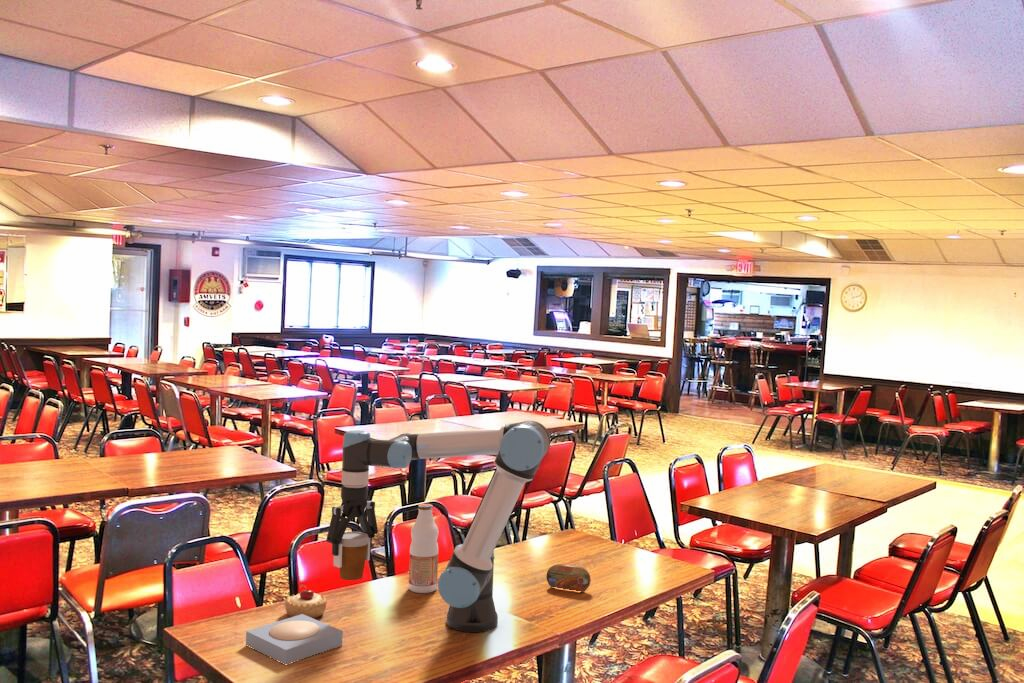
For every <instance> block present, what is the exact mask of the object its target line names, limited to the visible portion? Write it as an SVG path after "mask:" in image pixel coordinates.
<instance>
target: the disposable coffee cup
mask: <svg viewBox="0 0 1024 683" xmlns="http://www.w3.org/2000/svg"><path fill="white" fill-rule="evenodd" d="M369 541H370V539H369V538H368V534H366V533H364V532H362V531H345V533H344V535H343V537H342V540H341V542H340V544H342V567H341V568H339V577H340V579H341V580H344V581H357V580H360V579H362V578H363V574H364V569H365V562H366V560H365V558H366V552H367V546H368V543H369Z"/></svg>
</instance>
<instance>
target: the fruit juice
mask: <svg viewBox="0 0 1024 683" xmlns="http://www.w3.org/2000/svg"><path fill="white" fill-rule="evenodd" d="M433 509H434V506H433V504H431V503H419V504H418V505H417V510H418V514H417V517H416V520H415V522H414V523H413V525H412V527H411V530H410V536H411V543H410V546H409V566H408V567H409V568H408V573H409V574H408V589H409V591H410V592H412V593H416V594H429V593H430V594H431V593H433V592H435V591H436V590H437V589H438V570H439V543H438V537H439V528H438V525H437V523H436V522H435V519H434V515H433Z"/></svg>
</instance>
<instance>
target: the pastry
mask: <svg viewBox="0 0 1024 683" xmlns="http://www.w3.org/2000/svg"><path fill="white" fill-rule="evenodd" d="M302 586H303V587H304V588H305V589H306V590H304V589H303V590H301V591H300V593H299V592H298V593H297V594H296V595H295V594H292V595H289V596H288V597H286V599H285V601H284V606H285V608H284V609H285V611H286V613H287V616H289V617H288V618H291V617H294V616H297V615H301V614H304V615H306V616H308V617H311V618H313V619H318V618H320V617H321V616H322V615H323V614H324V612H325V611H326V609H327V598H326V597H325V596H324V595H323V594H321V593H316V592H314V591H313V590H311V589H308V587H307V586H306V585H304V584H301V585H300V587H299V589H301V588H302Z"/></svg>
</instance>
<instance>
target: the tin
mask: <svg viewBox="0 0 1024 683" xmlns="http://www.w3.org/2000/svg"><path fill="white" fill-rule="evenodd" d="M546 582H547V583H548V585H549V587H550V588H552V587H557V588H563V589H569V590H576V591H581V592H582V593H584V592H586V590H588V589H589V587H590V585H591V582H592V580H591V575H590V572H589V571H588V570H587V569H585V568H584V567H583V566H577V565H567V564H561V563H560V564H559V563H558V564H554V565H552V566H550V567H549V568H548V569H547V571H546Z"/></svg>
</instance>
